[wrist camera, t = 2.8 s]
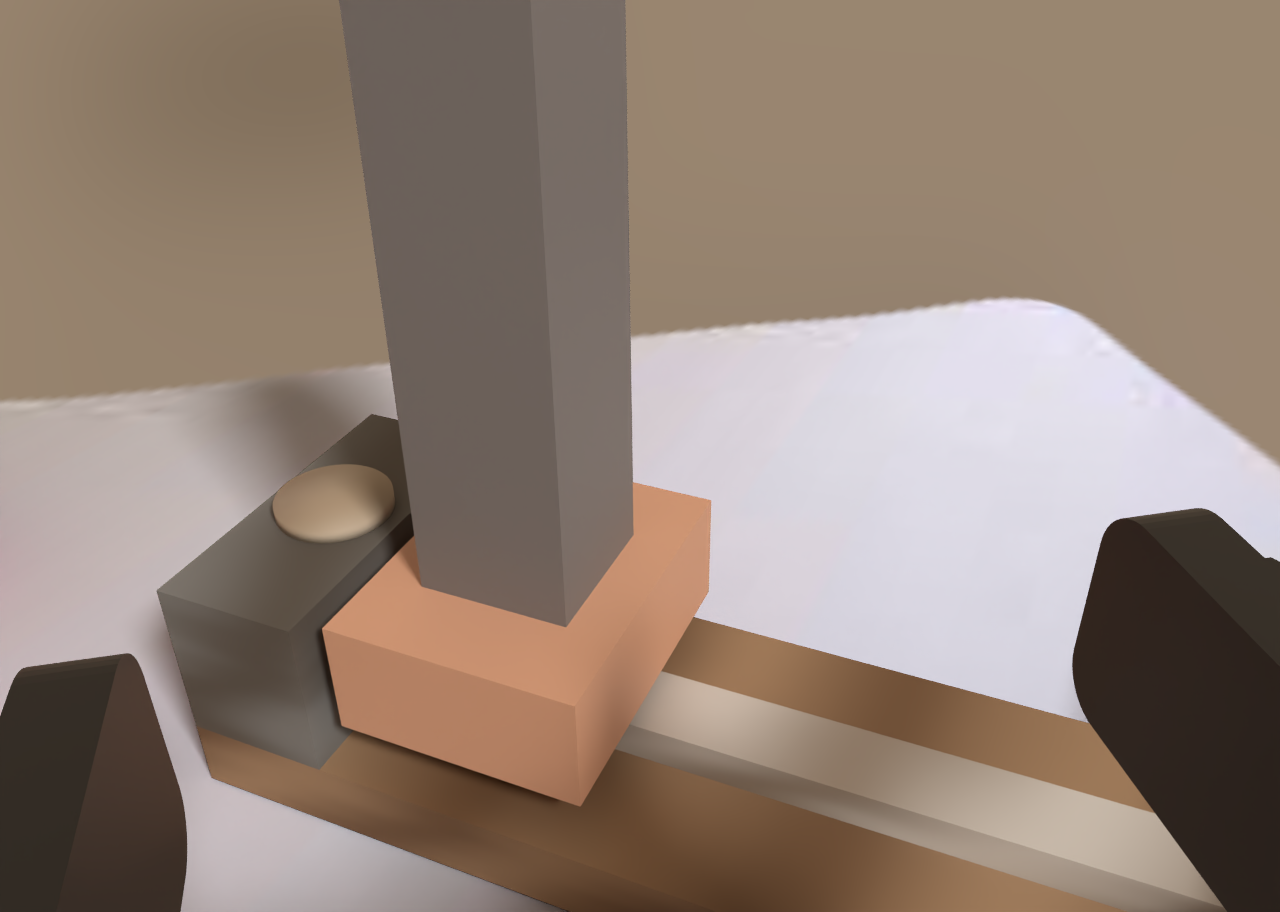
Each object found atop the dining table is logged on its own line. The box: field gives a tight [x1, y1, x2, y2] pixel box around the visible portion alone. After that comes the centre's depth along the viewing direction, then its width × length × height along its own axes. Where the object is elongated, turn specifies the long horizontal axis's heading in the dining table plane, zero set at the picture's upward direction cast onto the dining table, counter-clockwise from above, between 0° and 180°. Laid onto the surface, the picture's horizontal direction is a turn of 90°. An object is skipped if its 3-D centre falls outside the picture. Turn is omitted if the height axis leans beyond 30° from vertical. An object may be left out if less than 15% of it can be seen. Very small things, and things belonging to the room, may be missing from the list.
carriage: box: [322, 0, 711, 807], centre depth 20 cm, size 5×6×14 cm
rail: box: [157, 414, 1227, 912], centre depth 22 cm, size 24×7×5 cm, turn 67°
